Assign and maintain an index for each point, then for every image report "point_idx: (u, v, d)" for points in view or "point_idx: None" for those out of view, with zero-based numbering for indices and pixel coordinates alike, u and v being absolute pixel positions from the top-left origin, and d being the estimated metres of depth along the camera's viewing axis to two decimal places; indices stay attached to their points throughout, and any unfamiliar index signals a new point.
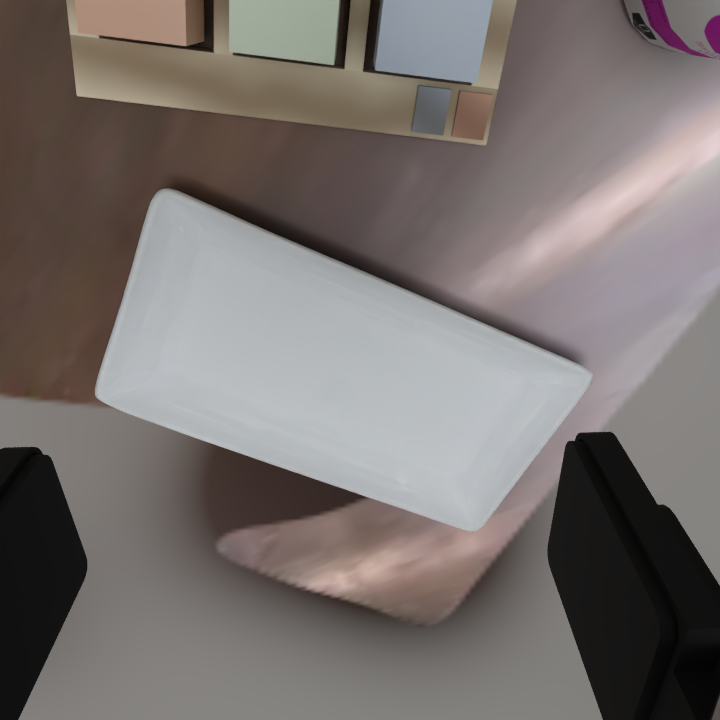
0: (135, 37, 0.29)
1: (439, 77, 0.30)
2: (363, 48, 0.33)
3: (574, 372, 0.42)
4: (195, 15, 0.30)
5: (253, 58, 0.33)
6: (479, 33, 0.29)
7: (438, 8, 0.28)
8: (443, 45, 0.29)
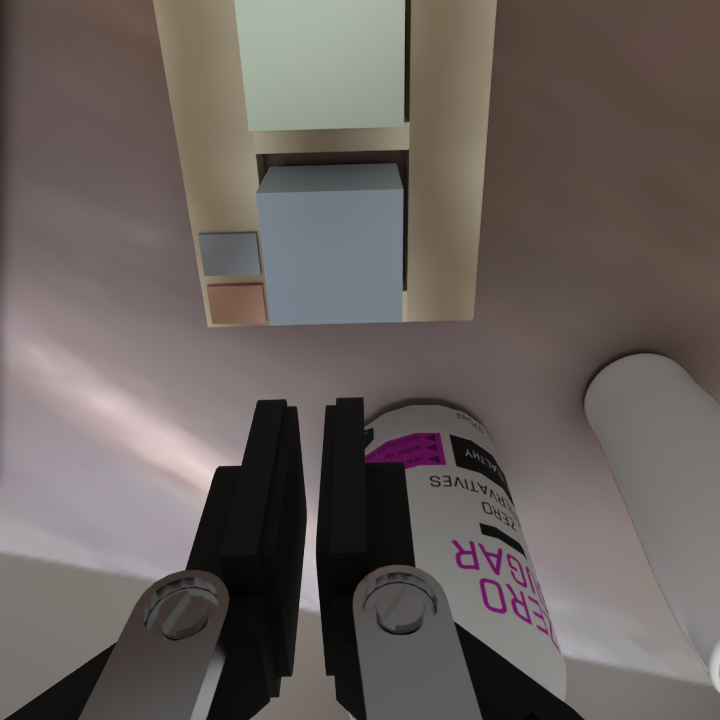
0: None
1: (266, 279, 0.22)
2: (284, 150, 0.24)
3: None
4: None
5: None
6: (325, 316, 0.23)
7: (344, 263, 0.22)
8: (304, 277, 0.22)
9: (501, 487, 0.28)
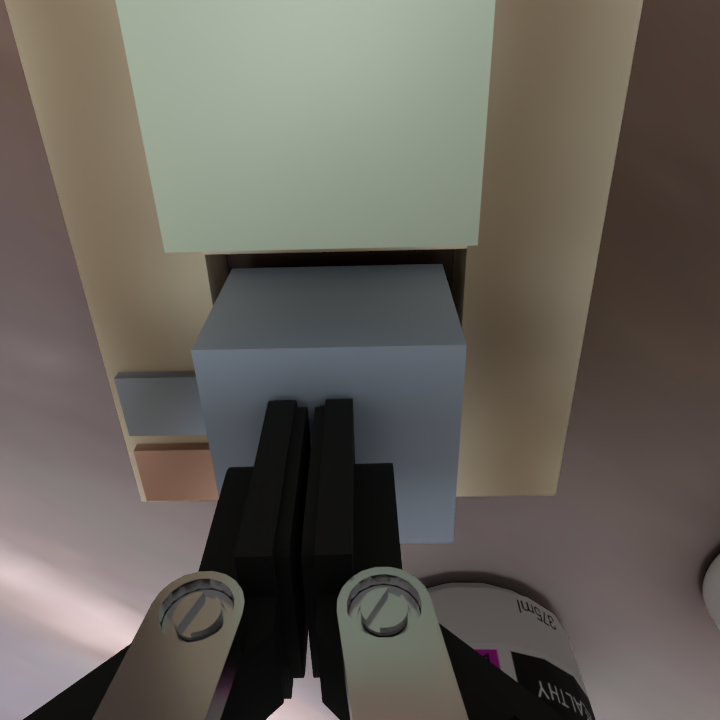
0: None
1: (218, 481, 0.13)
2: None
3: None
4: None
5: None
6: None
7: (355, 458, 0.12)
8: None
9: None
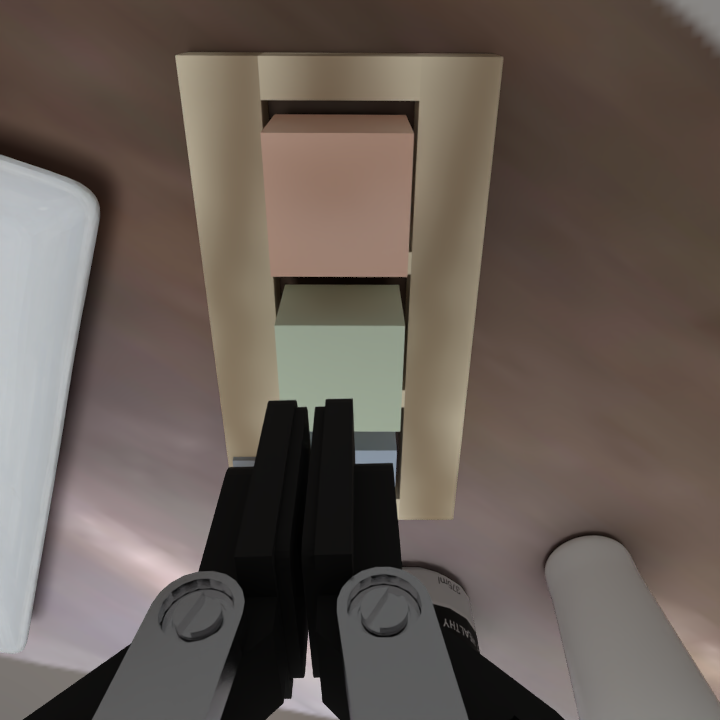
0: (269, 213, 0.21)
1: None
2: None
3: (16, 639, 0.38)
4: None
5: (273, 296, 0.27)
6: None
7: None
8: None
9: None
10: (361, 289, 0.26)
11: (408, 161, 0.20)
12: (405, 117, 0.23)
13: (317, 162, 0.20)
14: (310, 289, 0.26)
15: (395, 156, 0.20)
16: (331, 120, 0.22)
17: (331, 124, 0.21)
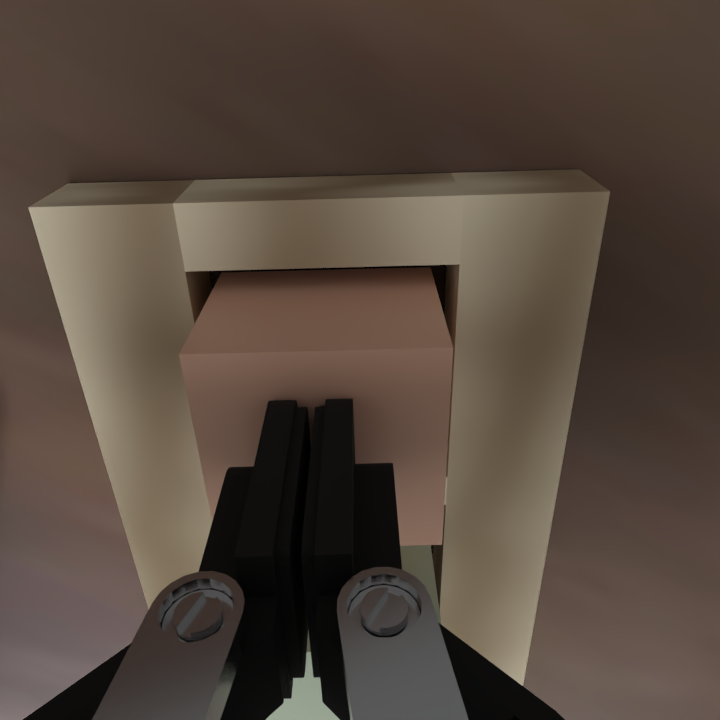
0: (206, 467, 0.12)
1: None
2: None
3: None
4: None
5: None
6: None
7: None
8: None
9: None
10: None
11: (443, 389, 0.12)
12: (431, 277, 0.14)
13: (284, 395, 0.12)
14: None
15: (420, 383, 0.11)
16: (309, 294, 0.13)
17: (308, 310, 0.13)
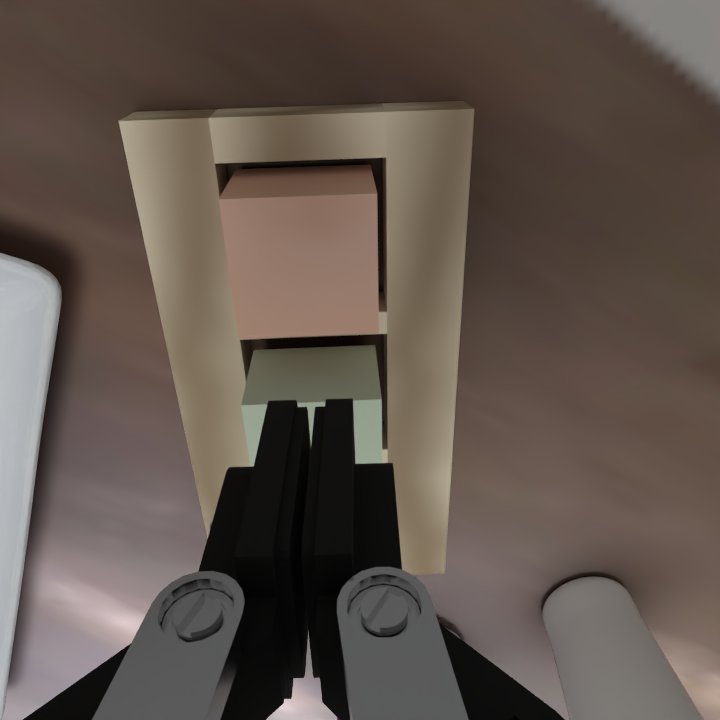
0: (232, 277, 0.21)
1: None
2: None
3: None
4: None
5: (242, 362, 0.26)
6: None
7: None
8: None
9: None
10: (335, 352, 0.25)
11: (373, 221, 0.20)
12: (370, 168, 0.22)
13: (280, 226, 0.20)
14: (280, 355, 0.25)
15: (359, 217, 0.20)
16: (293, 176, 0.21)
17: (293, 182, 0.21)
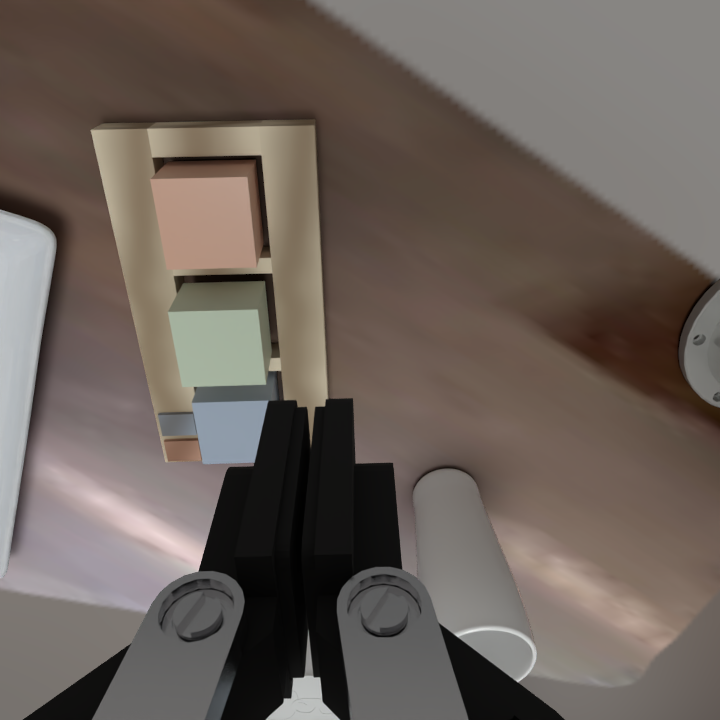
0: (161, 228, 0.33)
1: (199, 442, 0.40)
2: None
3: None
4: None
5: (176, 291, 0.38)
6: (233, 459, 0.41)
7: (242, 434, 0.40)
8: (220, 440, 0.40)
9: None
10: (237, 285, 0.37)
11: (246, 194, 0.32)
12: (253, 162, 0.35)
13: (188, 196, 0.32)
14: (200, 286, 0.37)
15: (237, 191, 0.32)
16: (202, 166, 0.34)
17: (200, 170, 0.33)
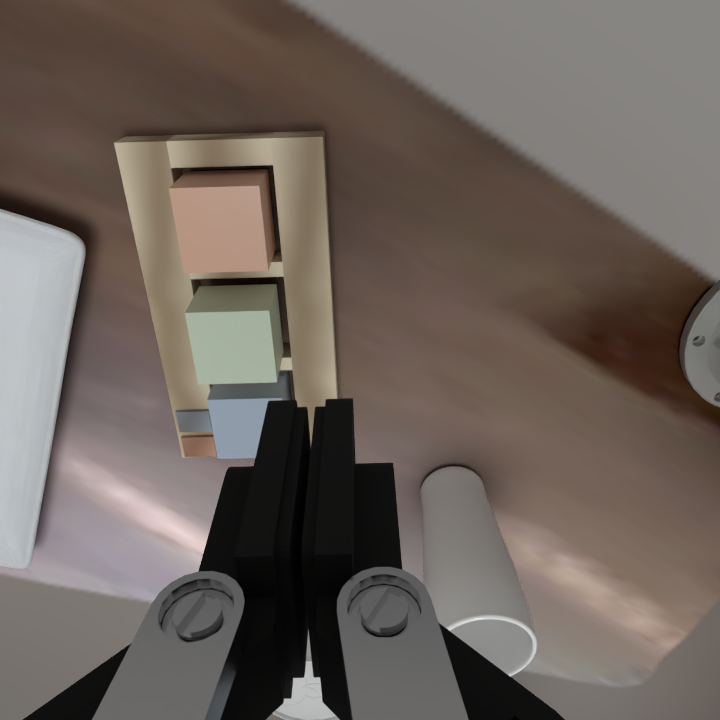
0: (178, 234, 0.35)
1: (214, 437, 0.42)
2: None
3: (23, 557, 0.51)
4: None
5: (193, 294, 0.40)
6: (247, 454, 0.43)
7: (255, 430, 0.42)
8: (234, 436, 0.42)
9: None
10: (250, 287, 0.39)
11: (258, 201, 0.34)
12: (265, 171, 0.37)
13: (204, 204, 0.34)
14: (215, 289, 0.39)
15: (250, 199, 0.34)
16: (217, 176, 0.36)
17: (215, 179, 0.35)
